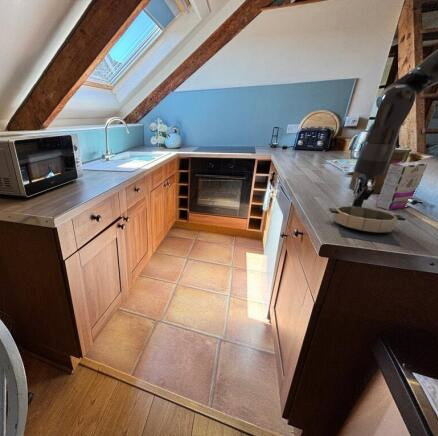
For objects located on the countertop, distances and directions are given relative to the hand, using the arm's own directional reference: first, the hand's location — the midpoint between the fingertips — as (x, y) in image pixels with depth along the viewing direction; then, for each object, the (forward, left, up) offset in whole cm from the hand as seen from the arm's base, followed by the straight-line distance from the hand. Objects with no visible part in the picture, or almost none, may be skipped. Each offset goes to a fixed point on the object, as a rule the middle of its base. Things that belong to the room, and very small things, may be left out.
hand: (355, 209), depth 82 cm
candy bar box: (-15, -19, -3) cm, 24 cm away
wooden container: (-14, -45, -3) cm, 47 cm away
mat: (0, +13, -3) cm, 13 cm away
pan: (0, +9, -3) cm, 9 cm away
